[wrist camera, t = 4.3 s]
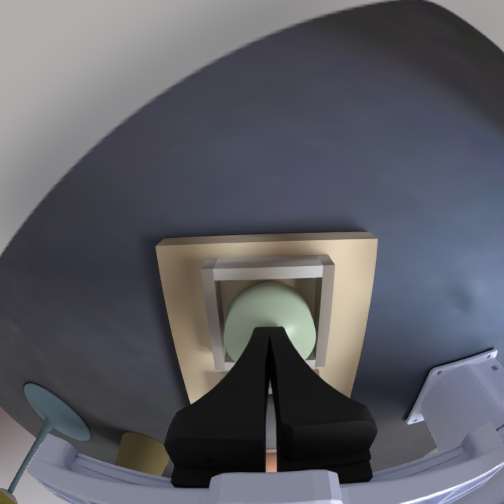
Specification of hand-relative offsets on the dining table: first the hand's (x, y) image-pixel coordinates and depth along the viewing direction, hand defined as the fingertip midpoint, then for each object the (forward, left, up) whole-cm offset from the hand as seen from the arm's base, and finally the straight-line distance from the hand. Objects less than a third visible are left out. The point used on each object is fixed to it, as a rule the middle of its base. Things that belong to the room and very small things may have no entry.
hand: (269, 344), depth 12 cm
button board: (0, +8, -5) cm, 9 cm away
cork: (+14, +20, -5) cm, 25 cm away
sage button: (0, 0, -2) cm, 2 cm away
